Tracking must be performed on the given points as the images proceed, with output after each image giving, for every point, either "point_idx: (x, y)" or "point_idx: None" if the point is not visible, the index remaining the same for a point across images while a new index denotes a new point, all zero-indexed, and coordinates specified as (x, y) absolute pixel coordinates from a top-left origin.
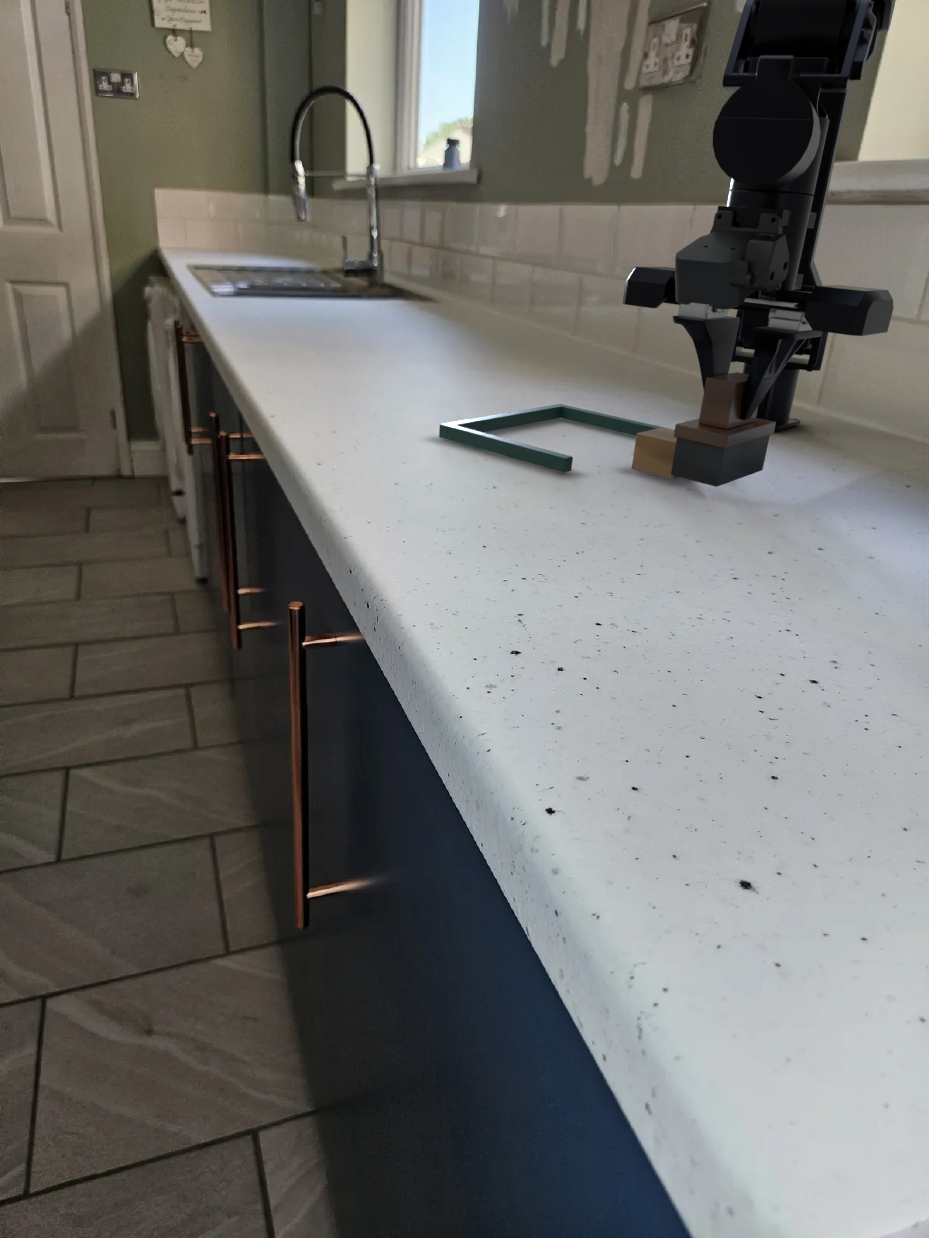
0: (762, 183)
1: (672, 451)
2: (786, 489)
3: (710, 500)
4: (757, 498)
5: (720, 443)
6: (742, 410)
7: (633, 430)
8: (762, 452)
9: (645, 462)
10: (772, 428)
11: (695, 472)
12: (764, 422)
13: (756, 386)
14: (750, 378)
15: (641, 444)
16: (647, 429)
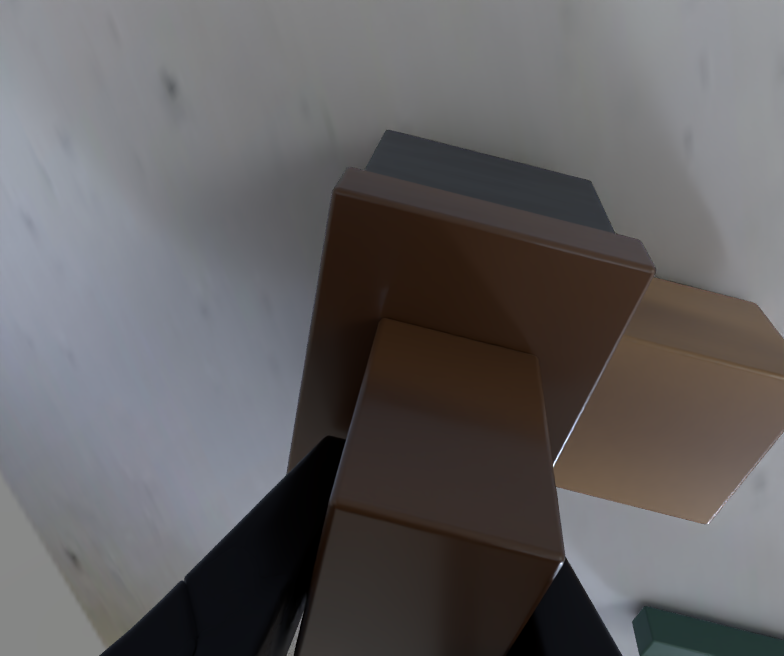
0: None
1: None
2: (257, 394)
3: (407, 117)
4: (288, 253)
5: (374, 176)
6: (334, 463)
7: (778, 651)
8: None
9: (714, 306)
10: None
11: (486, 166)
12: None
13: (228, 550)
14: (260, 595)
15: (770, 351)
16: (737, 652)
